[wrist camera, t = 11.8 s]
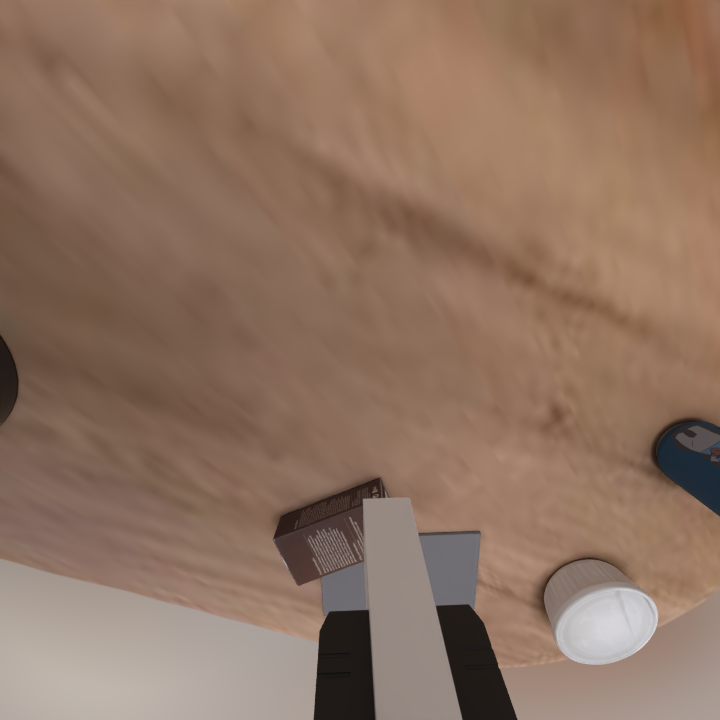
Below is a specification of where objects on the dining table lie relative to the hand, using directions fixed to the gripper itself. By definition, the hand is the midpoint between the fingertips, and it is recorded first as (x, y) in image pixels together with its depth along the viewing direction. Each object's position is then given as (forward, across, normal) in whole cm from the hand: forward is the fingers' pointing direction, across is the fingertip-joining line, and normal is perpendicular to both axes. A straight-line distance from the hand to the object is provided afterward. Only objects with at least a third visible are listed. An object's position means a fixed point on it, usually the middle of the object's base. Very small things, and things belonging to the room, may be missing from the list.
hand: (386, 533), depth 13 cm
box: (+24, +3, -18) cm, 30 cm away
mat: (+26, +4, -28) cm, 39 cm away
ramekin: (+27, +26, -32) cm, 49 cm away
